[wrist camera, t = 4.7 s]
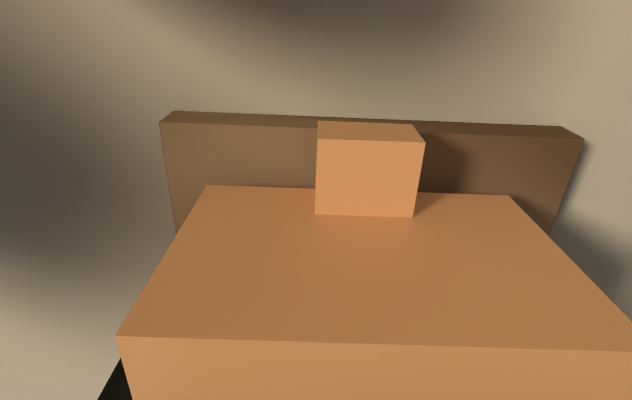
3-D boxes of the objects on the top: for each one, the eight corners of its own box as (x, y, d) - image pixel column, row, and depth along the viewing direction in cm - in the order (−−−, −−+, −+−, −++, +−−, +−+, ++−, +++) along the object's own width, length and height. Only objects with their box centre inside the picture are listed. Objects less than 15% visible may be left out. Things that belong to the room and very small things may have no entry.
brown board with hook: (462, 415, 15) (544, 662, 10) (214, 406, 15) (150, 648, 10) (561, 126, 10) (891, 305, 4) (173, 110, 10) (-35, 268, 4)
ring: (449, 393, 12) (513, 585, 8) (227, 386, 12) (183, 577, 8) (528, 128, 8) (728, 249, 4) (199, 116, 8) (84, 227, 4)
